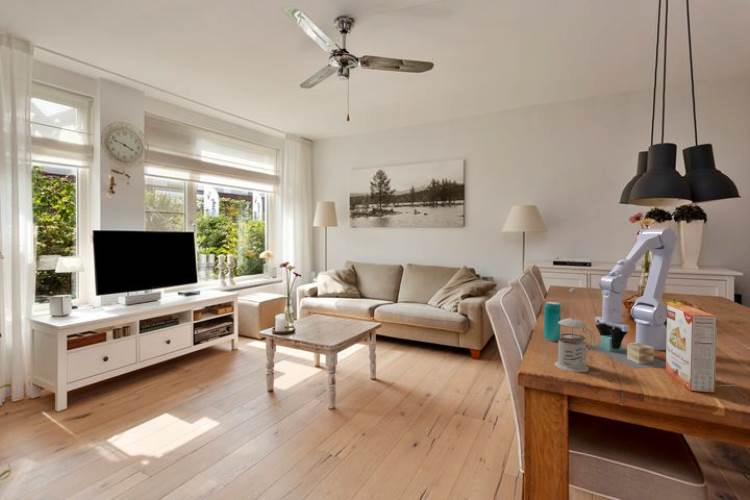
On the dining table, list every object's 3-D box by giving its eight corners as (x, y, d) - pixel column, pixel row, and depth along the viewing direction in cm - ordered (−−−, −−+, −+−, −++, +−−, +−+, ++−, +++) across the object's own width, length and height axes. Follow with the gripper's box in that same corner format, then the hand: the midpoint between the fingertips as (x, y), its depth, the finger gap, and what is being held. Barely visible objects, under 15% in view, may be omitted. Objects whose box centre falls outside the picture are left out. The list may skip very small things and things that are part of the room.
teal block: (612, 347, 135) (612, 335, 135) (621, 351, 131) (621, 338, 130) (600, 347, 135) (600, 335, 134) (609, 351, 130) (609, 339, 130)
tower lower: (640, 357, 123) (641, 350, 123) (653, 363, 118) (653, 355, 118) (626, 358, 123) (627, 351, 123) (638, 363, 118) (639, 356, 118)
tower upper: (641, 350, 123) (641, 343, 123) (653, 355, 118) (653, 347, 118) (627, 351, 123) (627, 343, 123) (639, 356, 118) (639, 348, 118)
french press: (549, 360, 122) (550, 286, 121) (584, 361, 122) (586, 286, 120) (563, 372, 112) (564, 290, 111) (602, 372, 112) (603, 290, 111)
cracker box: (663, 372, 111) (666, 304, 110) (687, 374, 110) (690, 305, 109) (688, 391, 98) (690, 313, 97) (716, 394, 96) (718, 315, 95)
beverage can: (561, 342, 142) (562, 304, 141) (545, 341, 143) (546, 303, 143) (557, 338, 148) (558, 301, 147) (542, 337, 149) (542, 301, 148)
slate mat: (621, 345, 138) (621, 344, 138) (676, 367, 115) (676, 366, 115) (585, 346, 137) (585, 345, 137) (634, 369, 114) (634, 368, 114)
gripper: (587, 305, 139) (587, 340, 139) (616, 313, 124) (615, 353, 125) (605, 304, 139) (604, 340, 140) (635, 313, 125) (634, 352, 126)
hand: (610, 346), depth 133 cm, fingers closed on teal block, 4 cm apart
